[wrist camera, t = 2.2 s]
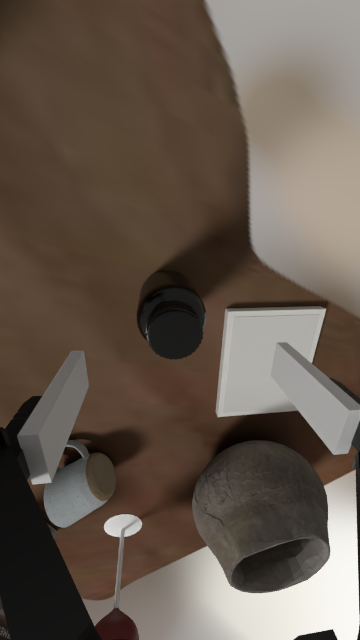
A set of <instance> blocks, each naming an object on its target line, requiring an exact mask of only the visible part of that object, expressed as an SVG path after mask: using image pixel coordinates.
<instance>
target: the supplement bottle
mask: <svg viewBox="0 0 360 640" xmlns="http://www.w3.org/2000/svg"><path fill="white" fill-rule="evenodd" d="M205 323H206V310H205V307H204V304H203V302H202V300H201V298H200V297H199V295H198V294H197V292H196V291H195V289H194V288H193V286H192V285H191V283H190V282H189V281H188V280H187V278H185V277H184V276H183V275H182V274H180V273H178V272H175V271H169V270H166V271H160V272H157V273H155V274H153V275H151V276H150V277H149V278H148V279H147V280H146V281H145V283H144V285H143V287H142V289H141V293H140V299H139V304H138V310H137V324H138V328H139V331H140V333H141V334H142V336H143V337H144V338H145V339H146V341H148V343H149V346H150V347H151V348H152V350H153V351H155V353H156V354H158V355H160V356H161V357H164V358H169V359H182V358H183V357H187V356H188V355H191V354H192V353H193V352H195V350H196V349H197V348H198V347H199V345H200V344H201V340H202V339H203V336H202V335H203V329H204V327H205Z"/></svg>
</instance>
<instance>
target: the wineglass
mask: <svg viewBox="0 0 360 640" xmlns="http://www.w3.org/2000/svg"><path fill="white" fill-rule="evenodd" d="M141 527H142V522H141V520H140V519H139V518H138V517H136V516H134V515H129V514H121V515H117V516H114V517H112V518H110V519H109V520H108V521H106V523H105V525H104V530H105V532H106V533H108V534H109V535H111V536H115V537H120V546H119V557H118V568H117V578H116V589H115V600H114V609H113V611H112V612H110V613H109V614H108V615H106V616H105V617H104V618H102V619H101V620H100V621H99V622H98V623H97V624H96V626H95V629H96V630H97V632H98V633H99V635H100V636H101V638H102V640H139V636H138V630H137V627H136V625H135V623H134V622H133V620H131V618H130V617H128V616H127V615H126V614H124V613H123V612H122V611H120V610H119V596H120V584H121V571H122V559H123V546H124V537H126V536H130V535H133V534H135V533H136V532H138V531H139V530H140V529H141Z"/></svg>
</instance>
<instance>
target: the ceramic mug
mask: <svg viewBox="0 0 360 640" xmlns="http://www.w3.org/2000/svg"><path fill="white" fill-rule="evenodd" d="M66 447H74V448H75V449H77V450H78V451H79V453H80V454H81V455H82V457H83V458H81V459H79V460H77V461H75V462H73V463H71V464H69V465H67V466H65V467H63V468H61V469H59V468H58V467H57V470H56V472H55V475H54V478H53V480H52V483H46V486H45V490H44V506H45V510H46V513H47V515H48V517H49V519H50V521H51V522H52V523H54V525H56V526H58V527H62V528H64V527H68V526H70V525H72V524H73V523H75V522H76V521H78V520H79V519H81V518H83V517H84V516H86V515H87V514H89V513H90V512H92V511H93V510H95V509H97V508H98V507H100V506H102V505H103V504H104V503H105V502H107V501H108V500H109V499H110V498H111V497H112V495H113V493H114V491H115V487H116V473H115V469H114V466H113V464H112V462H111V461H110V459H109V458H108V457H107V456H106V455H105V454H102V453H100V452H95V453H92V454H89V453H88V450H87V449H86V447H85V446H84V445H83V444H82V443H81V442H79V441H76V440H68V441H67V444H66Z"/></svg>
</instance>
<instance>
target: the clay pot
mask: <svg viewBox="0 0 360 640" xmlns="http://www.w3.org/2000/svg"><path fill="white" fill-rule="evenodd" d="M192 510H193V516H194V520H195V524H196V527H197V530H198V532H199V534H200V535H201V537H202V539H203V540H204V541H205V543H206V544H207V546H208V547H209V548H210V550H211V551H212V552H213V554H214V555H215V556H216V558H217V559H218V561H219V563H220V565H221V566H222V568H223V570H224V573H225V575H226V577H227V580H228V582H229V584H230V585H231V586H232V587H234V588H235V589H238V590H240V591H243V592H249V593H266V592H273V591H279V590H281V589H285V588H288V587H290V586H293V585H295V584H298V583H300V582H302V581H305V580H308V579H309V578H310V577H311V576H313V575H314V574H315V573H317V572H318V571H319V570H320V569H321V568H322V567H323V565H324V564H325V563H326V562H327V560H328V559H329V556H330V546H329V538H328V528H327V521H328V504H327V495H326V492H325V489H324V486H323V483H322V481H321V479H320V477H319V476H318V474H317V473H316V471H315V470H314V468H313V467H312V466H311V465H310V463H309V462H308V461H307V460H306V459H305V458H304V457H303V456H302V455H300V454H299V453H297V452H296V451H294V450H293V449H291V448H289V447H287V446H285V445H283V444H279V443H275V442H272V441H265V440H252V441H246V442H242V443H239V444H236V445H233V446H231V447H229V448H227V449H225V450H223V451H222V452H220V453H219V454H217V455H216V456H215V457H214V458H213V459H212V460H211V461H210V462H209V464H208V465H207V466H206V467H205V469H204V470H203V472H202V473H201V475H200V477H199V479H198V481H197V483H196V486H195V489H194V494H193V500H192Z"/></svg>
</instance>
